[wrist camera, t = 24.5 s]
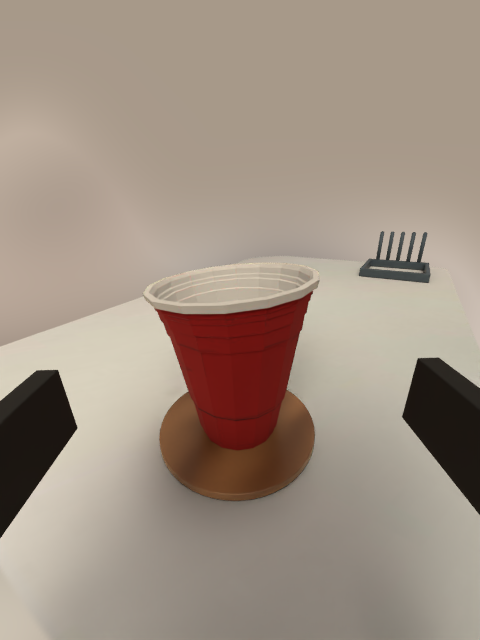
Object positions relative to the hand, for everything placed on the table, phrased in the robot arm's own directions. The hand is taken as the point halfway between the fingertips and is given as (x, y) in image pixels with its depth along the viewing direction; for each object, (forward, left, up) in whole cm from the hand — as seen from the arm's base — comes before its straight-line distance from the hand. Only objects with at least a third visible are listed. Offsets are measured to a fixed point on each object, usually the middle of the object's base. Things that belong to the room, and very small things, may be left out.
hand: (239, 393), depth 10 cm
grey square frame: (+46, -53, -10) cm, 71 cm away
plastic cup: (+8, -2, -10) cm, 13 cm away
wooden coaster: (+8, -2, -10) cm, 13 cm away
